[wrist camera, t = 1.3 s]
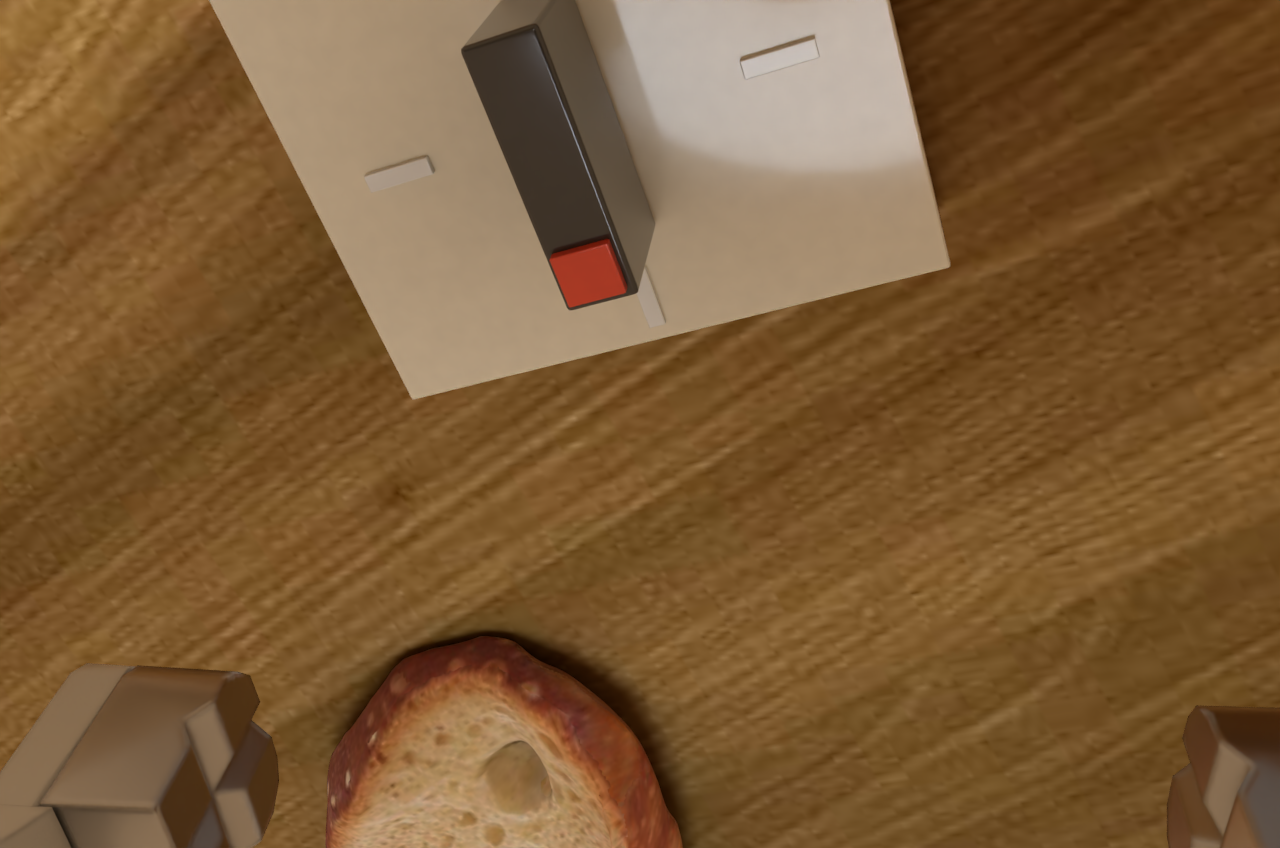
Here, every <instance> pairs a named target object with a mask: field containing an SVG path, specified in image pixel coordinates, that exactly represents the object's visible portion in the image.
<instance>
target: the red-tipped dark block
mask: <svg viewBox="0 0 1280 848" xmlns="http://www.w3.org/2000/svg"><path fill="white" fill-rule="evenodd" d="M461 54H462V56H463V59H464V61H465V64H466V66H467V68H468V71H469V73H470V76H471V78H472V81H473V83H474V85H475V88H476V90H477V93H478V95H479V97H480V100H481V102H482V105H483V107H484V109H485V112H486V114H487V117H488V119H489V121H490V124H491V126H492V129H493V131H494V134H495V136H496V138H497V141H498V143H499V146H500V148H501V150H502V153H503V155H504V158H505V160H506V162H507V165H508V167H509V170H510V172H511V174H512V177H513V179H514V182H515V184H516V187H517V189H518V191H519V194H520V196H521V199H522V201H523V203H524V206H525V208H526V211H527V213H528V215H529V218H530V220H531V223H532V225H533V227H534V230H535V232H536V235H537V237H538V240H539V242H540V244H541V247H542V249H543V252H544V254H545V256H546V259H547V261H548V264H549V266H550V268H551V271H552V273H553V276H554V278H555V280H556V283H557V285H558V288H559V290H560V293H561V295H562V297H563V300H564V302H565V305H566V307H567V308H568V310H575V309H579V308H583V307H587V306H591V305H595V304H599V303H603V302H606V301H610V300H614V299H618V298H622V297H626V296H630V295H633V294H636V293H637V292H638V291H639V287H640V284H641V280H642V276H643V272H644V268H645V264H646V260H647V257H648V253H649V249H650V245H651V241H652V237H653V234H654V230H655V221H654V218H653V215H652V212H651V210H650V207H649V204H648V201H647V198H646V196H645V193H644V190H643V187H642V185H641V182H640V179H639V176H638V173H637V171H636V168H635V165H634V162H633V159H632V157H631V154H630V151H629V148H628V146H627V143H626V140H625V137H624V134H623V132H622V129H621V126H620V123H619V121H618V118H617V115H616V112H615V109H614V107H613V104H612V101H611V98H610V96H609V93H608V90H607V87H606V84H605V82H604V79H603V76H602V73H601V71H600V68H599V65H598V62H597V59H596V57H595V54H594V51H593V48H592V46H591V43H590V40H589V37H588V34H587V32H586V29H585V26H584V23H583V20H582V18H581V15H580V12H579V9H578V7H577V4H576V1H575V0H502V1H500V2H499V3H498V4H497V6H496V7H495V8H494V9H493V10H492V12H491V13H490V14H489V15H488V16H487V18H486V19H485V20H484V21H483V23H482V24H481V25H480V26H479V27H478V29H477V30H476V31H475V32H474V34H473V35H472V36H471V37H470V38H469V40H468V41H467V42H466V43H465V44H464V46H463V47H462V48H461Z"/></svg>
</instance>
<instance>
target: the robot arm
mask: <svg viewBox="0 0 1280 848" xmlns="http://www.w3.org/2000/svg"><path fill="white" fill-rule="evenodd" d="M259 703H260V700H259V698H258V695H257V692H256V690H255V687H254V684H253V682H252V679H251V677H250V675H247V674H243V673H240V672H234V671H218V670H202V669H186V668H170V667H154V666H121V665H105V664H89V663H87V664H85V665H83V666H82V667H80V668H78V669H77V670H75V671H73V672H72V673H71V674H70V675H69V676H68V677H67V679H66V680H65V681H64V683H63V684H62V686H61V687H60V688H59V690H58V691H57V693H56V694H55V696H54V697H53V698H52V700H51V701H50V703H49V704H48V705H47V707H46V708H45V710H44V711H43V712H42V714H41V715H40V717H39V718H38V719H37V721H36V722H35V724H34V725H33V727H32V728H31V729H30V731H29V732H28V734H27V735H26V736H25V738H24V739H23V741H22V742H21V743H20V745H19V746H18V748H17V749H16V751H15V752H14V753H13V755H12V756H11V758H10V759H9V760H8V762H7V763H6V765H5V766H4V767H3V769H2V770H1V772H0V848H252V847H254V846H255V845H256V844H257V843H259V842H260V841H261V840H262V838H263V836H264V834H265V831H266V829H267V826H268V824H269V822H270V819H271V817H272V815H273V812H274V806H275V800H276V795H277V789H278V783H279V773H278V759H277V754H276V750H275V747H274V744H273V740H272V737H271V736H270V735H269V734H267V733H266V732H265V731H264V730H263V729H262V728H260V727H259V726H258V725H257V724H256V723H254V722H253V721H252V720H251V719H252V717H253V715H254V713H255V711H256V709H257V707H258V705H259ZM1182 739H1183V742H1184V745H1185V748H1186V751H1187V754H1188V758H1189V761H1190V763H1189V764H1188V765H1187V766H1185V767H1184V768H1183V769H1181V770H1180V771H1179V772H1177V773H1176V774H1175V775H1173V777H1172V782H1171V787H1170V792H1169V796H1168V801H1167V841H1168V847H1169V848H1280V708H1274V707H1236V706H1198V705H1196V706H1195V708H1194V709H1193V711H1192V712H1191V713H1190V715H1189V716H1188V719H1187V723H1186V726H1185V730H1184V734H1183V737H1182Z"/></svg>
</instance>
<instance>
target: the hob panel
mask: <svg viewBox="0 0 1280 848" xmlns="http://www.w3.org/2000/svg"><path fill="white" fill-rule="evenodd" d="M209 1H210V3H211V5H212V7H213V9H214V11H215V13H216V15H217V17H218V19H219V21H220V23H221V25H222V27H223V29H224V31H225V33H226V35H227V37H228V39H229V41H230V43H231V45H232V46H233V48H234V50H235V52H236V54H237V56H238V58H239V60H240V62H241V64H242V66H243V68H244V70H245V72H246V74H247V76H248V78H249V80H250V82H251V84H252V86H253V88H254V90H255V92H256V94H257V96H258V98H259V100H260V102H261V103H262V105H263V107H264V109H265V111H266V113H267V115H268V117H269V119H270V121H271V123H272V125H273V127H274V129H275V131H276V133H277V135H278V137H279V139H280V141H281V143H282V145H283V147H284V149H285V151H286V153H287V155H288V157H289V158H290V160H291V162H292V164H293V166H294V168H295V170H296V172H297V174H298V176H299V178H300V180H301V182H302V184H303V186H304V188H305V190H306V192H307V194H308V196H309V198H310V200H311V202H312V204H313V206H314V208H315V210H316V212H317V214H318V215H319V217H320V219H321V221H322V223H323V225H324V227H325V229H326V231H327V233H328V235H329V237H330V239H331V241H332V243H333V245H334V247H335V249H336V251H337V253H338V255H339V257H340V259H341V261H342V263H343V265H344V267H345V269H346V270H347V272H348V274H349V276H350V278H351V280H352V282H353V284H354V286H355V288H356V290H357V292H358V294H359V296H360V298H361V300H362V302H363V304H364V306H365V308H366V310H367V312H368V314H369V316H370V318H371V320H372V322H373V324H374V326H375V327H376V329H377V331H378V333H379V335H380V337H381V339H382V341H383V343H384V345H385V347H386V349H387V351H388V353H389V355H390V357H391V359H392V361H393V363H394V365H395V367H396V369H397V371H398V373H399V375H400V377H401V379H402V381H403V382H404V384H405V386H406V388H407V390H408V392H409V394H410V396H411V398H412V399H418V398H422V397H426V396H430V395H434V394H438V393H442V392H446V391H450V390H454V389H458V388H462V387H467V386H471V385H475V384H479V383H483V382H487V381H491V380H495V379H499V378H503V377H507V376H511V375H515V374H519V373H523V372H527V371H531V370H536V369H540V368H544V367H548V366H552V365H556V364H560V363H564V362H568V361H572V360H576V359H580V358H584V357H588V356H592V355H596V354H600V353H604V352H609V351H613V350H617V349H621V348H625V347H629V346H633V345H637V344H641V343H645V342H649V341H653V340H657V339H661V338H665V337H669V336H673V335H677V334H682V333H686V332H690V331H694V330H698V329H702V328H706V327H710V326H714V325H718V324H722V323H726V322H730V321H734V320H738V319H742V318H746V317H751V316H755V315H759V314H763V313H767V312H771V311H775V310H779V309H783V308H787V307H791V306H795V305H799V304H803V303H807V302H811V301H815V300H819V299H824V298H828V297H832V296H836V295H840V294H844V293H848V292H852V291H856V290H860V289H864V288H868V287H872V286H876V285H880V284H884V283H888V282H892V281H897V280H901V279H905V278H909V277H913V276H917V275H921V274H925V273H929V272H933V271H937V270H941V269H945V268H949V267H950V265H951V263H950V258H949V254H948V249H947V244H946V239H945V235H944V230H943V225H942V221H941V216H940V211H939V207H938V202H937V198H936V194H935V189H934V185H933V181H932V176H931V172H930V168H929V163H928V159H927V155H926V150H925V146H924V142H923V137H922V133H921V129H920V124H919V120H918V116H917V111H916V107H915V103H914V98H913V94H912V90H911V85H910V81H909V77H908V72H907V68H906V64H905V59H904V55H903V51H902V46H901V42H900V38H899V33H898V29H897V25H896V20H895V16H894V12H893V7H892V3H891V0H575V1H576V4H577V7H578V9H579V12H580V15H581V18H582V20H583V23H584V26H585V29H586V32H587V34H588V37H589V40H590V43H591V46H592V48H593V51H594V54H595V57H596V59H597V62H598V65H599V68H600V71H601V73H602V76H603V79H604V82H605V84H606V87H607V90H608V93H609V96H610V98H611V101H612V104H613V107H614V109H615V112H616V115H617V118H618V121H619V123H620V126H621V129H622V132H623V134H624V137H625V140H626V143H627V146H628V148H629V151H630V154H631V157H632V159H633V162H634V165H635V168H636V171H637V173H638V176H639V179H640V182H641V185H642V187H643V190H644V193H645V196H646V198H647V201H648V204H649V207H650V210H651V212H652V215H653V218H654V221H655V230H654V234H653V237H652V241H651V245H650V249H649V253H648V257H647V260H646V264H645V268H644V272H643V276H642V280H641V284H640V287H639V291H638V292H637V293H636V294H633V295H630V296H626V297H622V298H618V299H614V300H610V301H606V302H603V303H599V304H595V305H591V306H587V307H583V308H579V309H575V310H568V308H567V307H566V305H565V302H564V300H563V297H562V295H561V293H560V290H559V288H558V285H557V283H556V280H555V278H554V276H553V273H552V271H551V268H550V266H549V264H548V261H547V259H546V256H545V254H544V252H543V249H542V247H541V244H540V242H539V240H538V237H537V235H536V232H535V230H534V227H533V225H532V223H531V220H530V218H529V215H528V213H527V211H526V208H525V206H524V203H523V201H522V199H521V196H520V194H519V191H518V189H517V187H516V184H515V182H514V179H513V177H512V174H511V172H510V170H509V167H508V165H507V162H506V160H505V158H504V155H503V153H502V150H501V148H500V146H499V143H498V141H497V138H496V136H495V134H494V131H493V129H492V126H491V124H490V121H489V119H488V117H487V114H486V112H485V109H484V107H483V105H482V102H481V100H480V97H479V95H478V93H477V90H476V88H475V85H474V83H473V81H472V78H471V76H470V73H469V71H468V68H467V66H466V64H465V61H464V59H463V56H462V54H461V48H462V47H463V46H464V44H465V43H466V42H467V41H468V40H469V38H470V37H471V36H472V35H473V34H474V32H475V31H476V30H477V29H478V27H479V26H480V25H481V24H482V23H483V21H484V20H485V19H486V18H487V16H488V15H489V14H490V13H491V12H492V10H493V9H494V8H495V7H496V6H497V4H498V3H499V2H500V1H502V0H209Z"/></svg>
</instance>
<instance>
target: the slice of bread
mask: <svg viewBox="0 0 1280 848" xmlns="http://www.w3.org/2000/svg"><path fill="white" fill-rule="evenodd" d="M327 795H328V805H327V822H326V848H683V847H682V839H681V835H680V832H679V828H678V824H677V822H676V820H675V819H674V817H673V816H672V815H671V813H670V812H669V811H668V809H667V807H666V805H665V802H664V799H663V796H662V793H661V789H660V786H659V783H658V780H657V778H656V776H655V773H654V770H653V768H652V766H651V763H650V761H649V759H648V757H647V755H646V753H645V751H644V749H643V747H642V745H641V743H640V742H639V740H638V739H637V737H636V736H635V734H634V733H633V731H632V730H631V729H630V728H629V726H628V725H627V724H626V723H625V722H624V721H623V720H622V719H621V718H620V717H619V716H618V715H617V714H616V713H615V712H614V711H613V710H612V709H611V708H610V707H609V706H608V705H607V704H606V703H605V702H604V701H602V700H601V699H600V698H599V697H598V696H596V695H595V694H594V693H593V692H592V691H590V690H589V689H588V688H586V687H585V686H584V685H583V684H581V683H580V682H579V681H578V680H576V679H575V678H573V677H572V676H570V675H569V674H567V673H566V672H564V671H562V670H560V669H558V668H556V667H553V666H550V665H548V664H545V663H543V662H541V661H539V660H537V659H536V658H534V657H533V656H532V655H530V654H529V653H528V652H527V651H525V650H524V649H523V648H522V647H521V646H520V645H518V644H517V643H516V642H514V641H512V640H508V639H505V638H498V637H490V636H480V637H477V638H474V639H471V640H468V641H464V642H461V643H457V644H453V645H448V646H443V647H438V648H433V649H429V650H427V651H423V652H421V653H418V654H415V655H412V656H410V657H407V658H405V659H403V660H402V661H401V662H400V663H399V664H398V665H396V666H395V667H394V668H393V669H392V671H391V672H390V674H389V675H388V677H387V678H386V680H385V681H384V683H383V684H382V685H381V687H380V688H379V689H378V691H377V692H376V693H375V694H374V696H373V697H372V698H371V700H370V701H369V703H368V705H367V706H366V708H365V709H364V710H363V712H362V713H361V715H360V716H359V717H358V719H357V720H356V722H355V723H354V724H353V726H352V727H351V728H350V730H348V731H347V732H346V733H345V735H344V737H343V738H342V740H341V741H340V743H339V744H338V746H337V747H336V749H335V751H334V752H333V754H332V757H331V759H330V764H329V770H328V779H327Z"/></svg>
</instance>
